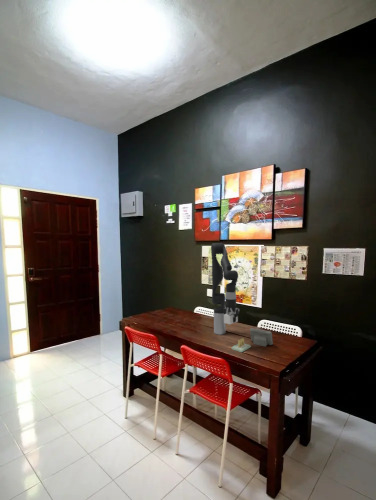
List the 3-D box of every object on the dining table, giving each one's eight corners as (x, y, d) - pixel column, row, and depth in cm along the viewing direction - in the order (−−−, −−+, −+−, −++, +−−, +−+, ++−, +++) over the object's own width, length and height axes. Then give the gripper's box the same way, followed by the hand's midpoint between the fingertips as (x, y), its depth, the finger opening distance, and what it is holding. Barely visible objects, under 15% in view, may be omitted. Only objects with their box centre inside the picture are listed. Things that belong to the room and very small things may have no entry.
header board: (240, 344, 177) (240, 335, 177) (250, 347, 171) (250, 338, 171) (231, 349, 168) (231, 339, 168) (241, 352, 163) (241, 342, 163)
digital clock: (274, 345, 175) (274, 330, 175) (268, 348, 169) (268, 333, 169) (254, 339, 187) (253, 325, 187) (247, 342, 180) (247, 328, 180)
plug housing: (232, 320, 180) (231, 311, 180) (237, 321, 176) (237, 312, 176) (224, 323, 173) (223, 313, 173) (229, 324, 169) (229, 314, 169)
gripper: (242, 298, 172) (242, 322, 172) (225, 296, 182) (225, 318, 182) (236, 300, 167) (236, 324, 167) (219, 297, 177) (219, 320, 177)
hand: (231, 321), depth 174 cm, fingers closed on plug housing, 5 cm apart
